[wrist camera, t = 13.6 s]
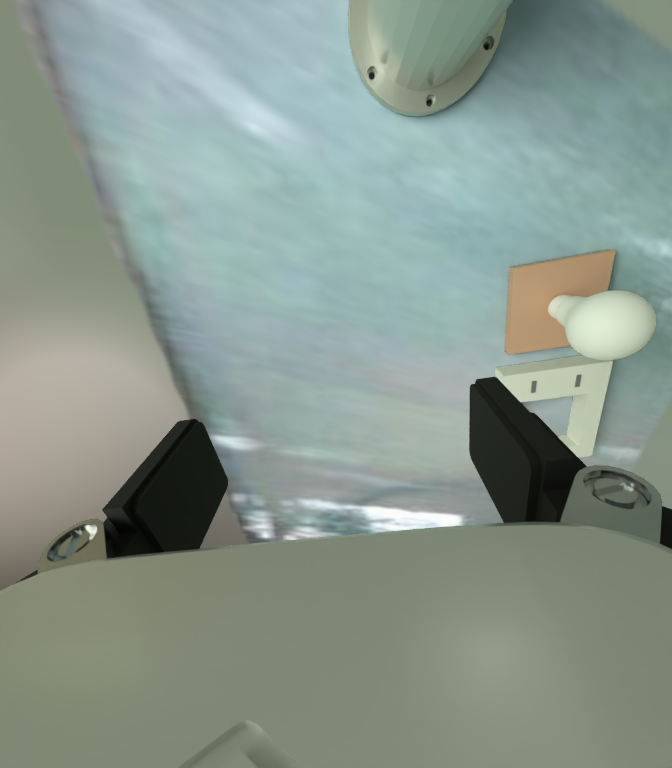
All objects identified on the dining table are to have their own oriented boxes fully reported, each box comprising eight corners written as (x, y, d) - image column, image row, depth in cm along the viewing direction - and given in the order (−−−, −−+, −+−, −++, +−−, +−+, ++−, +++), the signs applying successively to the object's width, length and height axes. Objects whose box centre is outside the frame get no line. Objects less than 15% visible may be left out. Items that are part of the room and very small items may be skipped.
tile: (509, 267, 35) (513, 268, 34) (608, 249, 34) (615, 250, 33) (504, 351, 39) (508, 354, 38) (592, 338, 38) (597, 341, 37)
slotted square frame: (495, 367, 40) (504, 376, 38) (597, 352, 39) (613, 361, 36) (491, 454, 46) (499, 466, 44) (579, 444, 45) (592, 456, 43)
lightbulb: (568, 263, 33) (660, 281, 24) (595, 304, 35) (690, 337, 25) (516, 304, 35) (580, 337, 26) (544, 341, 37) (614, 385, 28)
